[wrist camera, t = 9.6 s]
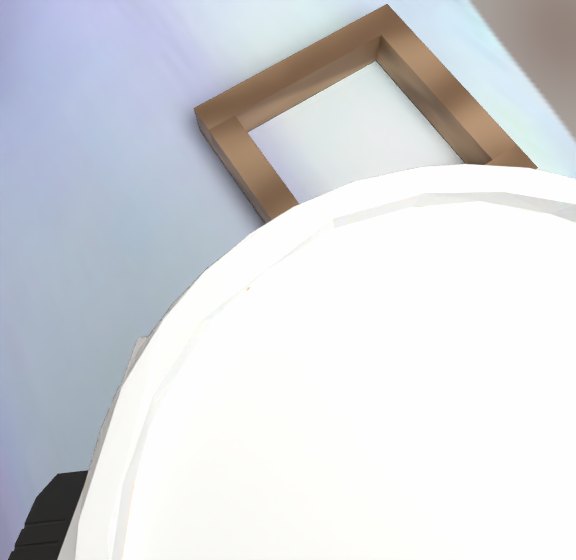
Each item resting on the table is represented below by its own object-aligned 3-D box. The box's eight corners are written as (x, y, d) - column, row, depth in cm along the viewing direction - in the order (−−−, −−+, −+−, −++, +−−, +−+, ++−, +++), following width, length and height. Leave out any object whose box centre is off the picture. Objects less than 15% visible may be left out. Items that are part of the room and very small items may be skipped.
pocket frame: (200, 130, 37) (193, 108, 35) (381, 30, 40) (387, 3, 37) (326, 311, 33) (328, 300, 30) (521, 186, 35) (537, 167, 33)
